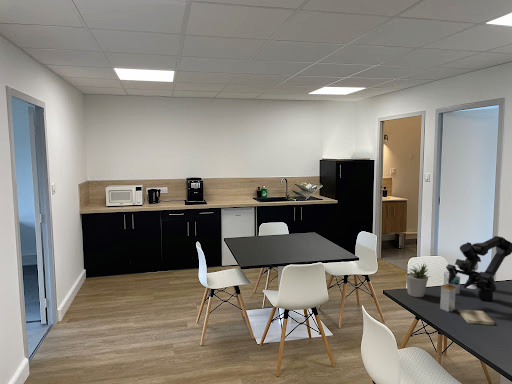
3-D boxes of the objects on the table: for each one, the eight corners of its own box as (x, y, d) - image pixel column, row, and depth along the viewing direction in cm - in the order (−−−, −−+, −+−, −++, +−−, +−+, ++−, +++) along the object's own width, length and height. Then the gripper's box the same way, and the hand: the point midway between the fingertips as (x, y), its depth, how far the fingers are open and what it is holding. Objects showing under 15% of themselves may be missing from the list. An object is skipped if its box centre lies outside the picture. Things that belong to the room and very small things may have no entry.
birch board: (482, 313, 205) (482, 310, 205) (494, 324, 192) (494, 321, 191) (458, 312, 207) (458, 309, 207) (468, 323, 193) (468, 320, 193)
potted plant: (419, 300, 223) (421, 266, 221) (400, 293, 235) (401, 261, 233) (433, 297, 230) (435, 263, 228) (413, 290, 241) (415, 258, 240)
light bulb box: (459, 294, 235) (460, 276, 234) (447, 293, 236) (448, 276, 235) (454, 288, 245) (455, 271, 244) (442, 287, 246) (443, 271, 245)
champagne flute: (479, 289, 245) (481, 251, 242) (468, 288, 245) (470, 251, 243) (473, 285, 251) (475, 248, 249) (462, 285, 251) (465, 248, 249)
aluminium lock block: (446, 307, 214) (447, 284, 213) (454, 310, 210) (455, 286, 209) (440, 308, 212) (441, 285, 211) (448, 311, 208) (449, 288, 206)
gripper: (449, 250, 222) (435, 271, 218) (480, 257, 206) (466, 281, 201) (457, 262, 226) (443, 283, 222) (489, 270, 210) (475, 293, 206)
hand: (456, 285), depth 213 cm, fingers open, 9 cm apart
